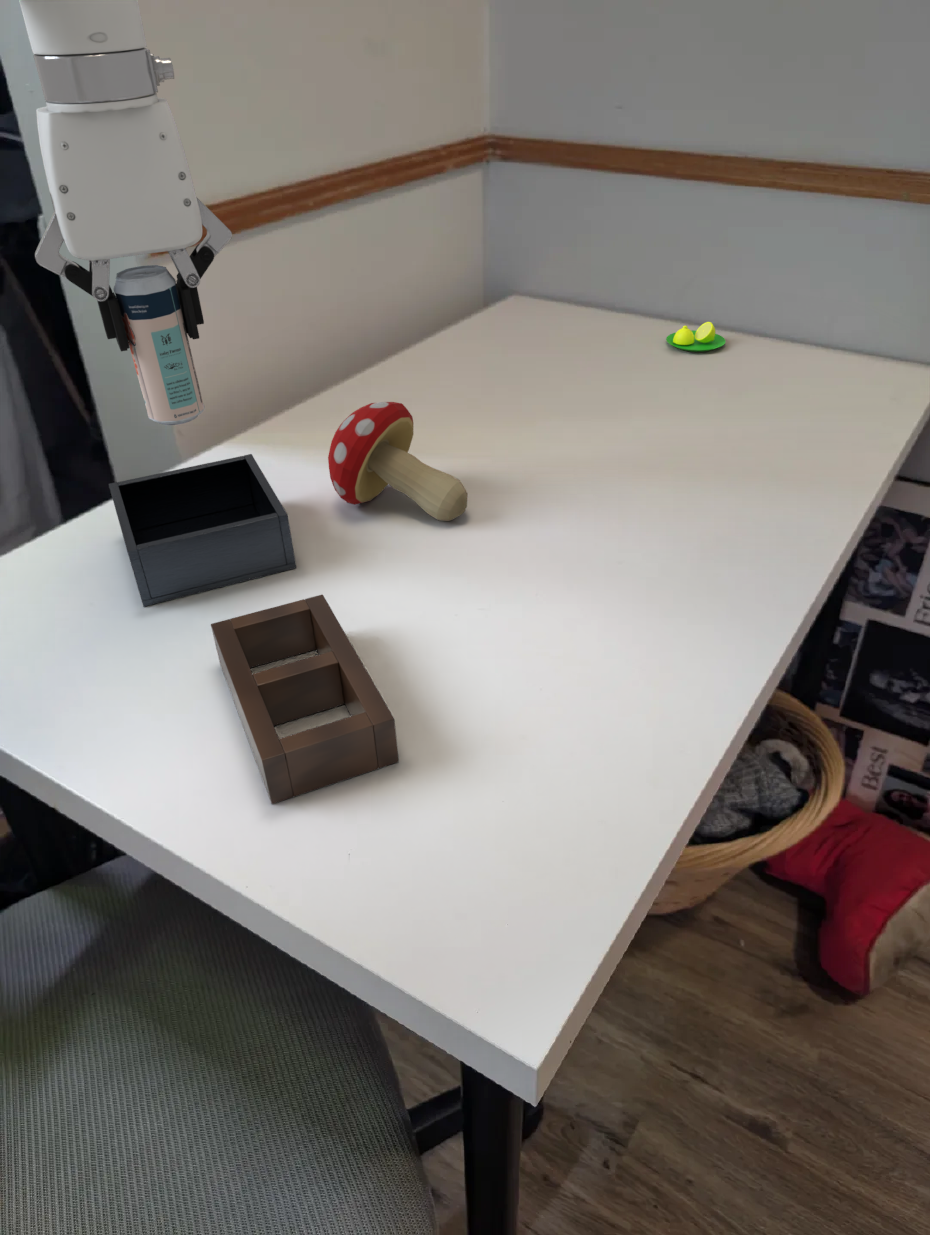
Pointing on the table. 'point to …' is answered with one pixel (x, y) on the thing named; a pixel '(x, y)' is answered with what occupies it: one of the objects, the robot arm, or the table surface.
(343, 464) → the decorative mushroom
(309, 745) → the rack
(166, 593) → the dark grey open box
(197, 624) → the table surface
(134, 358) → the beer can
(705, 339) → the lemon
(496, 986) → the table surface
